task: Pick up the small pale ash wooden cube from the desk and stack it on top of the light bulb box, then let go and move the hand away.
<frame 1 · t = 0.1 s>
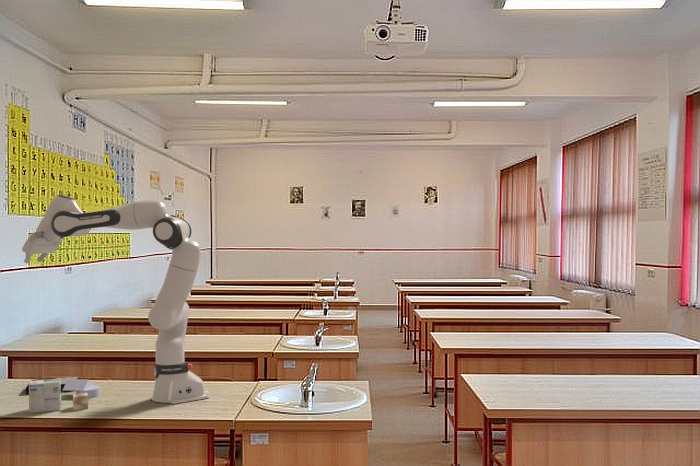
hand: (33, 262, 267), 54 cm above the table, tool tilted 30°, fingers open, 8 cm apart
wedge on round base: (83, 396, 268), on the table
light bulb box: (45, 410, 248), on the table
multimeter: (53, 390, 280), on the table
ash cube: (80, 408, 250), on the table
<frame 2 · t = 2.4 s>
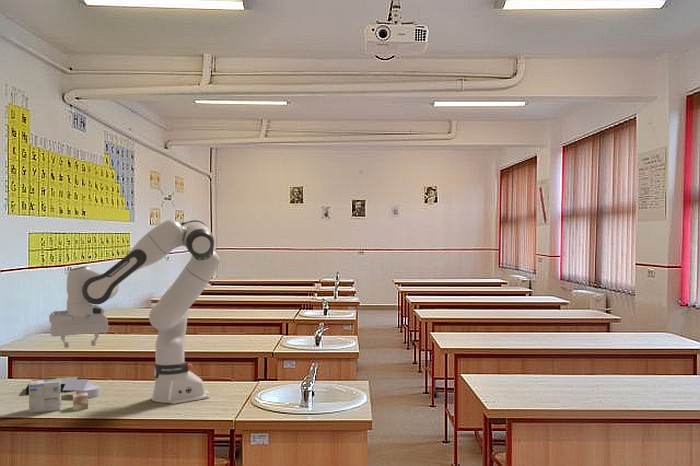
hand: (80, 346, 250), 23 cm above the table, tool pointing down, fingers open, 8 cm apart
nothing on the table moved.
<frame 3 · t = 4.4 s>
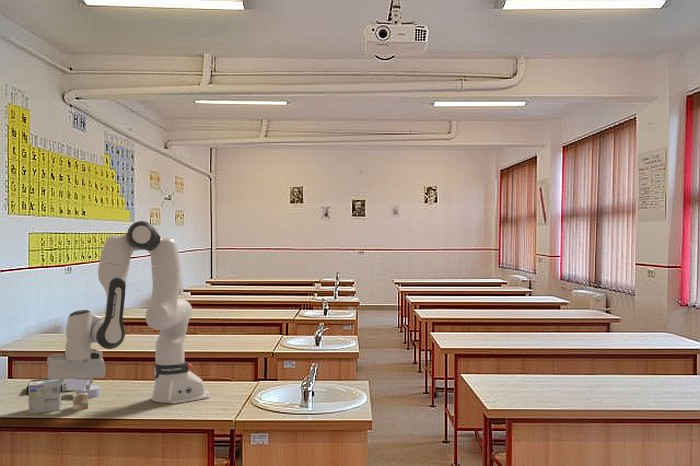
hand: (75, 390, 250), 7 cm above the table, tool pointing down, fingers open, 7 cm apart
light bulb box: (45, 411, 248), on the table, touching gripper
everything else where it was.
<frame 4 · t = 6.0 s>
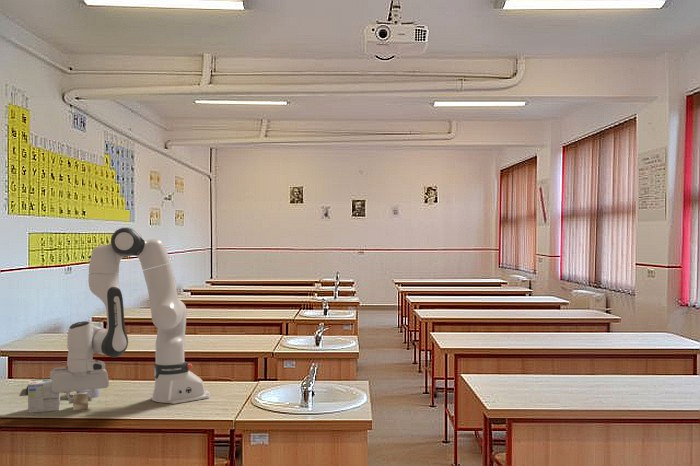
hand: (80, 402, 250), 2 cm above the table, tool pointing down, fingers closed on ash cube, 5 cm apart
light bulb box: (44, 410, 248), on the table
ash cube: (80, 407, 250), on the table, touching gripper
everything else where it was.
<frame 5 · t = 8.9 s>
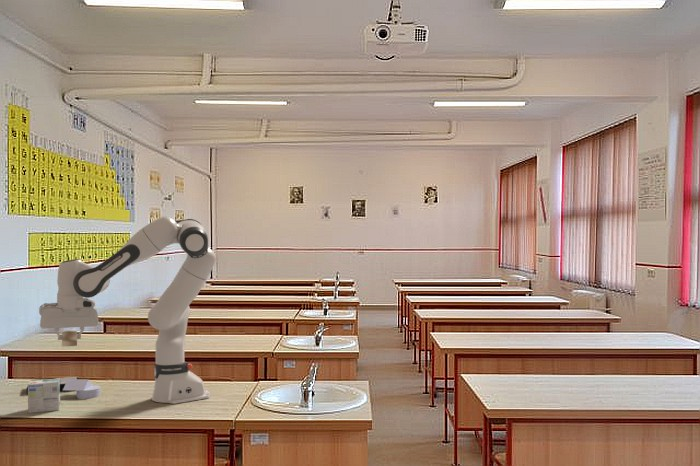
hand: (69, 339, 249), 26 cm above the table, tool pointing down, fingers closed on ash cube, 5 cm apart
ash cube: (69, 344, 249), point 24 cm above the table, touching gripper
everything else where it was.
when the fingers open (15 cm above the table, at t = 11.9 s): ash cube drops 2 cm, resting on light bulb box.
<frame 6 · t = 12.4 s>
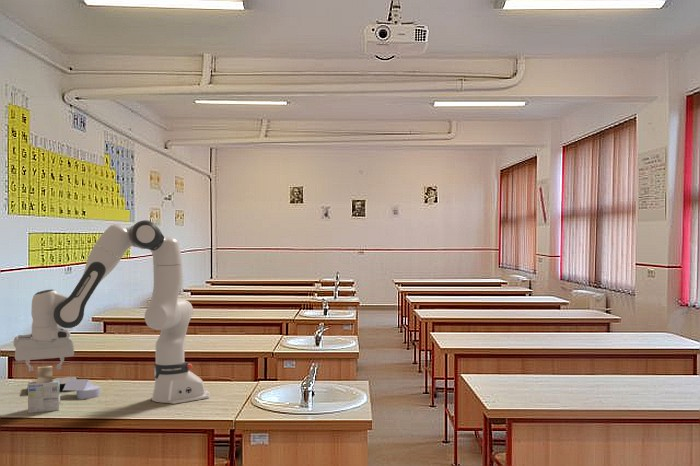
hand: (45, 370, 248), 15 cm above the table, tool pointing down, fingers open, 8 cm apart
light bulb box: (44, 410, 248), on the table, touching ash cube
ash cube: (45, 381, 248), point 11 cm above the table, touching light bulb box
everything else where it was.
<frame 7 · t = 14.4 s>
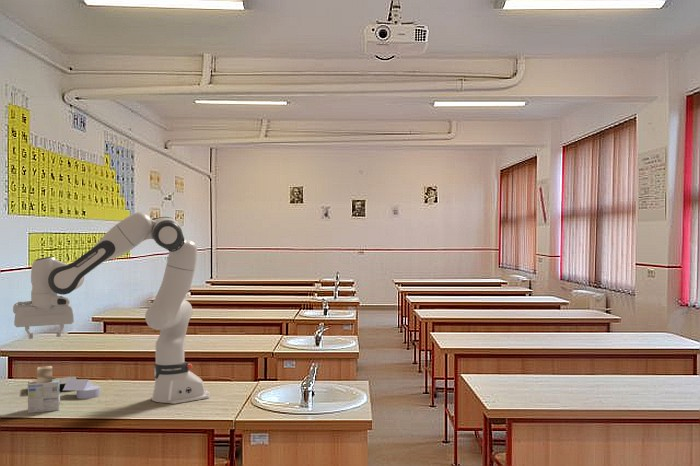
hand: (44, 337, 248), 27 cm above the table, tool pointing down, fingers open, 8 cm apart
nothing on the table moved.
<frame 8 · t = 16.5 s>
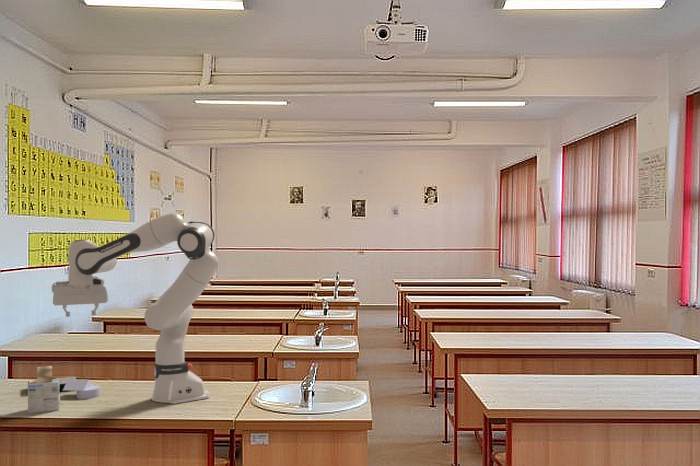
hand: (80, 315, 262), 33 cm above the table, tool pointing down, fingers open, 8 cm apart
at the end: ash cube inside the target area on the light bulb box (0.3 cm from its centre), point 11.0 cm above the light bulb box's base; ash cube tilted 0°; the gripper is holding nothing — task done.
